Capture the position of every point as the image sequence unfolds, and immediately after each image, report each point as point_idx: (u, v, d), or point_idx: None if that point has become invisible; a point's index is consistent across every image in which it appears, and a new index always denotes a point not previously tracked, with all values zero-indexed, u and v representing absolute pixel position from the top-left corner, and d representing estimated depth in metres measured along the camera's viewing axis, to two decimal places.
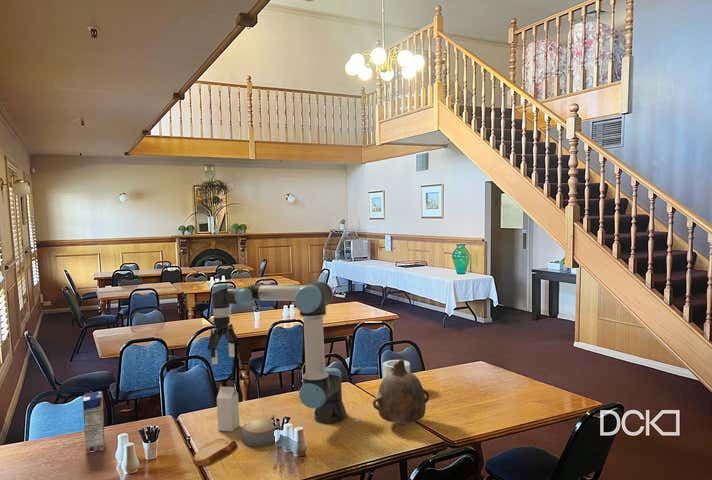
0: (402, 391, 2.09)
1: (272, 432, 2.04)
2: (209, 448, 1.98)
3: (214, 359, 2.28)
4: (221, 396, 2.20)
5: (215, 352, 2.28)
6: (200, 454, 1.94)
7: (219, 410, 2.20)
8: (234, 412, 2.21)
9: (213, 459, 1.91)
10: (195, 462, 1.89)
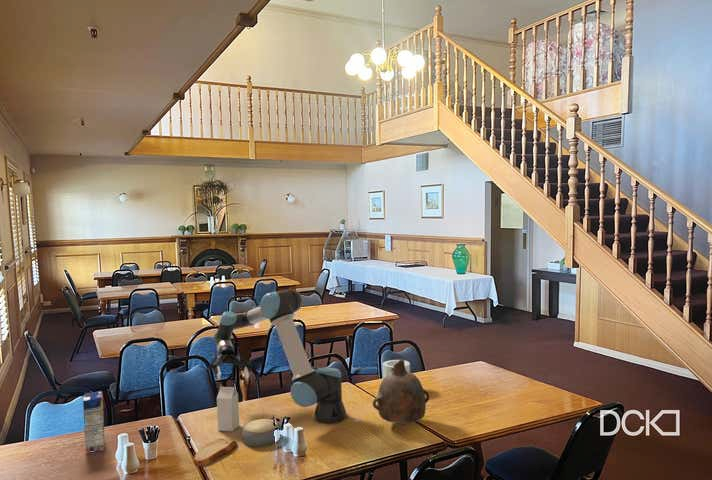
0: (402, 391, 2.09)
1: (272, 432, 2.04)
2: (210, 448, 1.98)
3: (218, 373, 2.27)
4: (221, 396, 2.20)
5: (217, 367, 2.30)
6: (200, 454, 1.94)
7: (219, 410, 2.20)
8: (234, 412, 2.21)
9: (213, 459, 1.91)
10: (195, 462, 1.89)
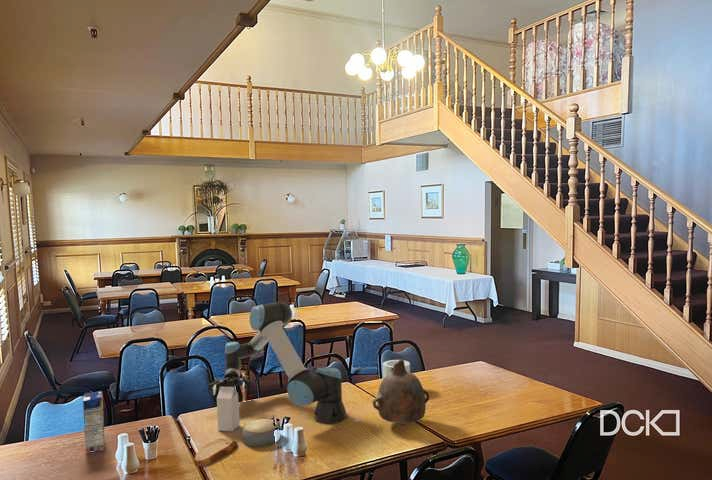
0: (402, 391, 2.09)
1: (272, 432, 2.04)
2: (210, 448, 1.98)
3: None
4: (221, 396, 2.20)
5: (214, 386, 2.36)
6: (201, 454, 1.94)
7: (219, 410, 2.20)
8: (234, 412, 2.21)
9: (214, 459, 1.91)
10: (196, 462, 1.89)
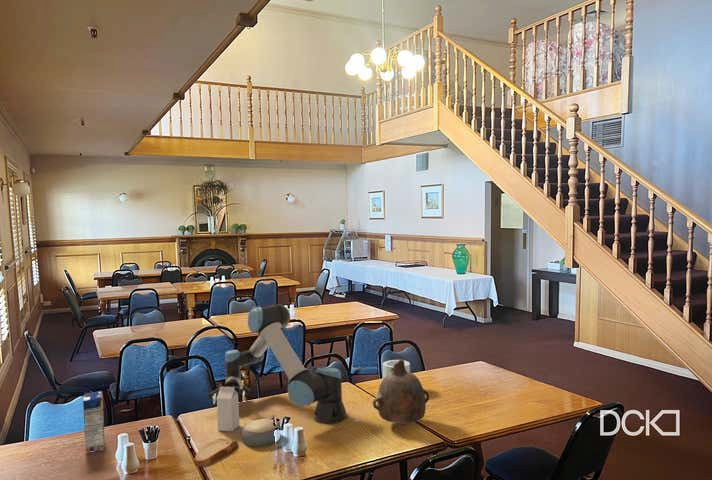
0: (402, 391, 2.09)
1: (272, 432, 2.04)
2: (210, 448, 1.98)
3: None
4: (221, 396, 2.20)
5: (214, 395, 2.35)
6: (201, 454, 1.94)
7: (219, 410, 2.20)
8: (234, 412, 2.21)
9: (214, 459, 1.91)
10: (196, 462, 1.89)
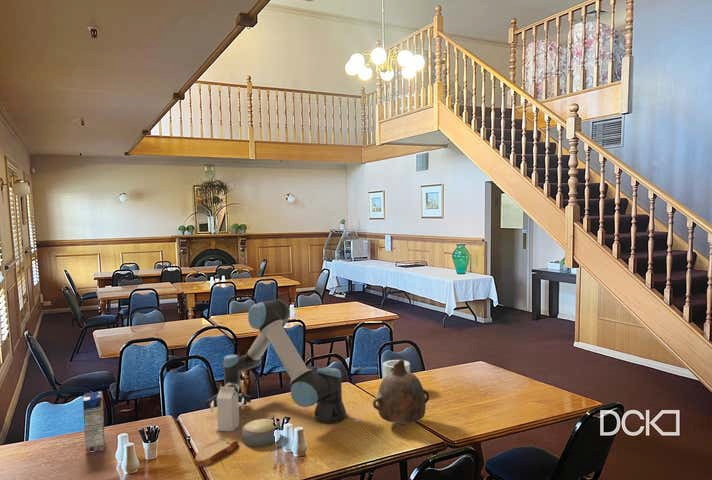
0: (402, 391, 2.09)
1: (272, 432, 2.04)
2: (211, 449, 1.98)
3: (211, 406, 2.21)
4: (221, 396, 2.20)
5: (211, 402, 2.25)
6: (201, 454, 1.93)
7: (219, 410, 2.20)
8: (234, 412, 2.21)
9: (214, 459, 1.91)
10: (196, 462, 1.88)
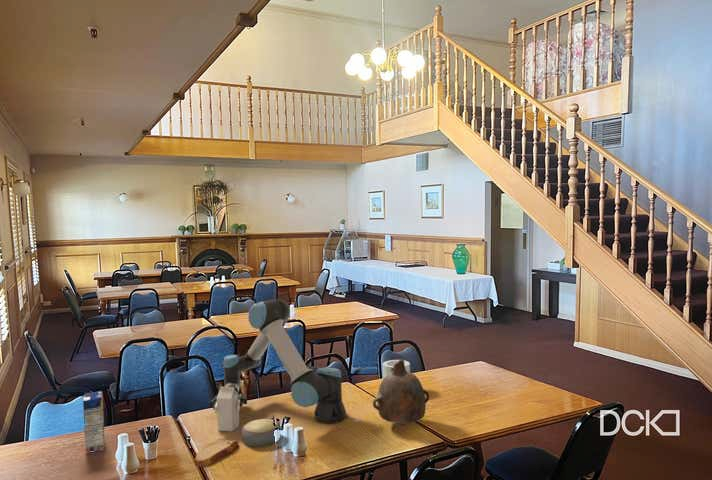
0: (402, 391, 2.09)
1: (272, 432, 2.04)
2: (211, 449, 1.98)
3: (215, 407, 2.19)
4: (221, 396, 2.20)
5: (215, 403, 2.23)
6: (202, 454, 1.93)
7: (219, 410, 2.20)
8: (234, 412, 2.21)
9: (214, 459, 1.91)
10: (196, 462, 1.88)
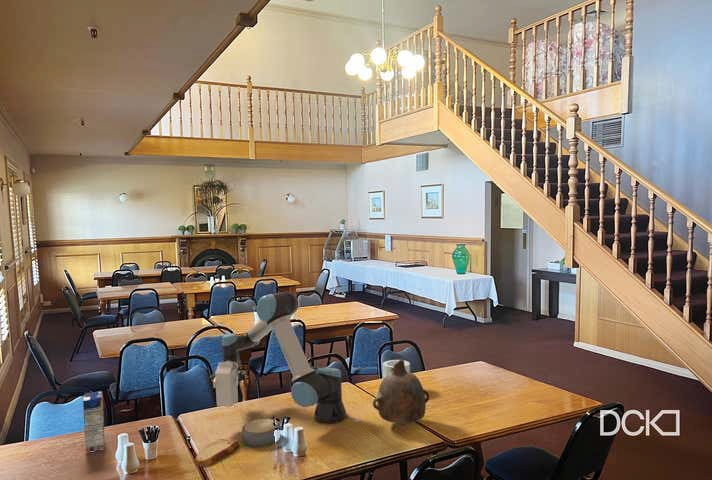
0: (402, 391, 2.09)
1: (272, 432, 2.04)
2: (212, 449, 1.98)
3: None
4: (219, 371, 2.20)
5: (214, 379, 2.22)
6: (202, 454, 1.93)
7: (218, 385, 2.19)
8: (232, 387, 2.21)
9: (215, 460, 1.90)
10: (197, 462, 1.88)
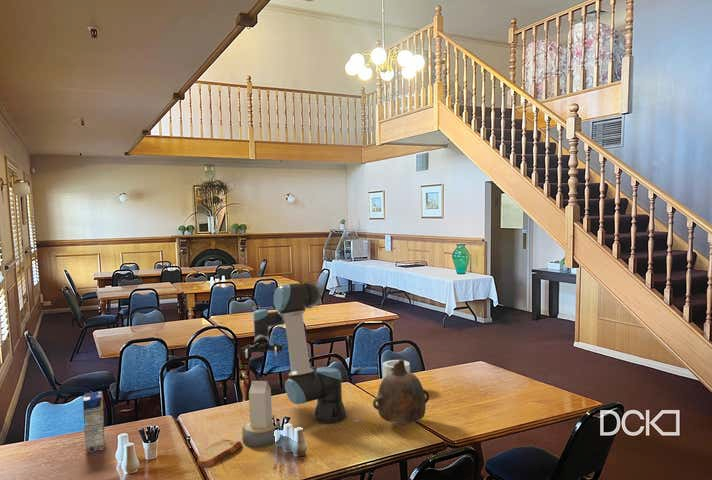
0: (402, 391, 2.09)
1: (272, 432, 2.04)
2: (214, 449, 1.97)
3: None
4: (253, 391, 2.07)
5: (245, 350, 2.33)
6: (204, 455, 1.93)
7: (251, 405, 2.06)
8: (267, 407, 2.08)
9: (217, 460, 1.90)
10: (199, 463, 1.88)
